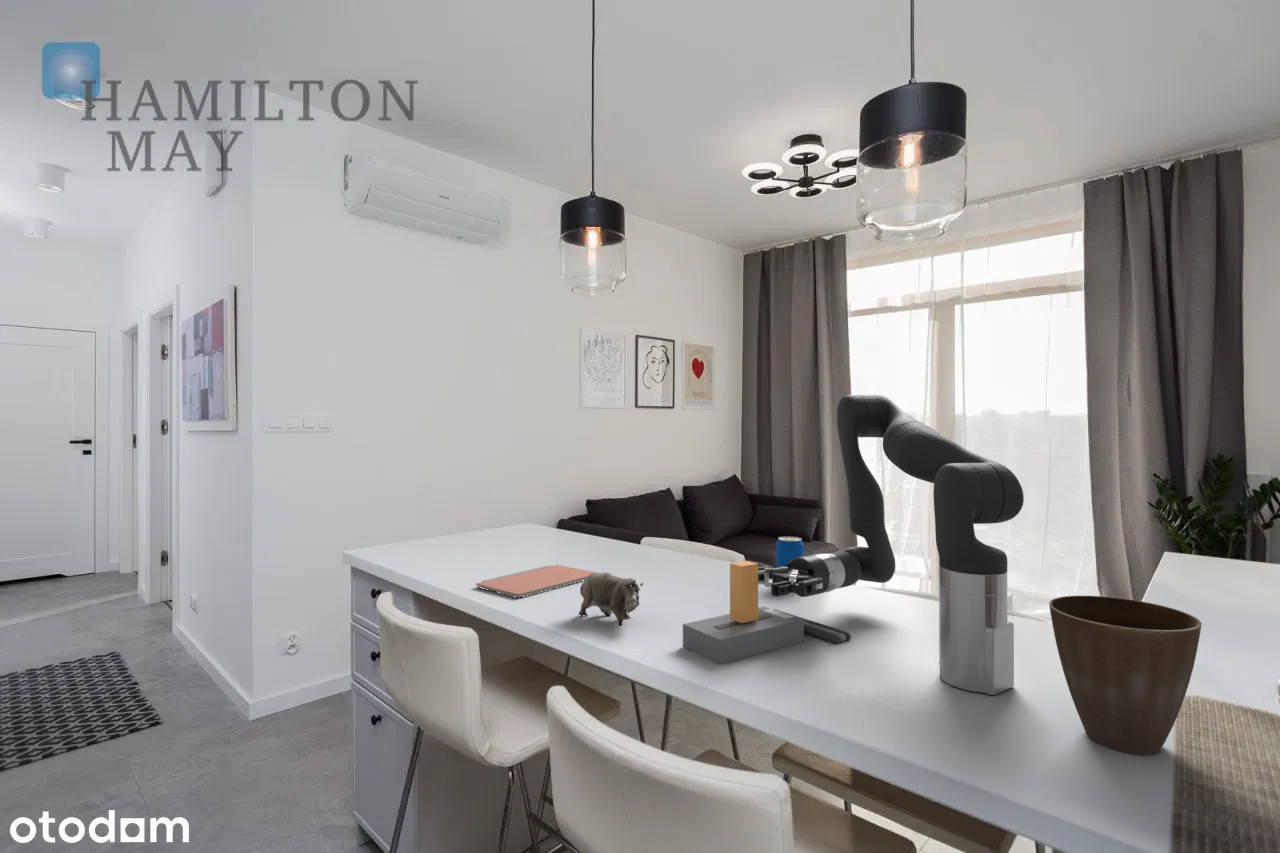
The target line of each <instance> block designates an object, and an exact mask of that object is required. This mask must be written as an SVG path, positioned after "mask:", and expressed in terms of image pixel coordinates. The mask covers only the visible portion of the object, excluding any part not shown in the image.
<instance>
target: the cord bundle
mask: <svg viewBox="0 0 1280 853" xmlns="http://www.w3.org/2000/svg"><path fill="white" fill-rule="evenodd" d="M773 609H774V610H777V611H780V612H783V613H786V614H789V615H792V616H796V617H799V618H802V619H804V634H807V635H811V636H812V637H813V636H814V637H816V638H819V639H822V640H825V641H828V642H831V643H834V644H840V642H841V643H844V642H845V641H850V640H851V639H852V635H851V633H850V632H848V631H845V630H842V629H838V628H835V627H833V626H828V625H826V624H823V623H820V622H816V621H814V620H810V619H808V618H803V617H800V616H798V615H795V614H791V613H788V612H785V611H781V610H779V609H775V608H773Z"/></svg>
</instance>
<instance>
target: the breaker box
mask: <svg viewBox="0 0 1280 853" xmlns="http://www.w3.org/2000/svg"><path fill="white" fill-rule="evenodd" d="M774 609H775V608H770V607H767V606H761V607H759V606H758V620H754V621H750V622H746V623H739V622H736V621H734V620H731V619H730V613H729V614H728V613H727V614H723V615H719V616H714V617H710V618H705V619H701V620H695V621H691V622H688V623H687V622H686V623H683V624H682V648H684V649H686V648H687V650H689V651H691V652H693V653H695V654H698V655H699V656H702V657H703V658H706V659H708V660H709V661H712V662H715V663H716V664H719V665H723V664H726V663H730V662H734V661H738V660H741V659H744V658H749V657H752V656H756V655H760V654H762V653H766V652H767V653H768V652H769V651H773V650H778V649H781V648H784V647H788V646H792V645H795V644H796V645H797V644H798V643H803V642H805V633H804V619H805V618H804V619H802V618H803V617H801V618H799V617H800V616H798V617H796V616H797V615H795V616H792V615H793V614H792V615H789V614H790V613H789V614H786V613H787V612H785V613H783V612H784V611H782V612H780V611H781V610H779V611H777V610H778V609H776V610H774Z"/></svg>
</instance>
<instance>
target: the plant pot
mask: <svg viewBox="0 0 1280 853" xmlns="http://www.w3.org/2000/svg"><path fill="white" fill-rule="evenodd" d="M1048 606H1049V611H1050V618H1051V623H1052V629H1053V634H1054V639H1055V643H1056V644H1055V645H1056V647H1057V648H1056V650H1057V653H1058V656H1059V660H1060V665H1061V668H1062V672H1063V674H1064V677H1065V681H1066V684H1067V687H1068V690H1069V693H1070V696H1071V699H1072V702H1073V704H1074V706H1075V709H1076V712H1077V715H1078V717H1079V719H1080V722H1081V724H1082V726H1083V729H1084V731H1085V734H1086V735H1087V736H1088V737H1089V738H1090V739H1091V740H1092V741H1094V742H1096V743H1097V744H1099V745H1101V746H1104V747H1105V748H1108V749H1111V750H1114V751H1117V752H1118V751H1119V752H1122V753H1125V754H1131V755H1142V756H1149V755H1155V754H1157V753H1159V752H1160V751H1161V750H1162V748H1163V747H1164V745H1165V743H1166V742H1167V739H1168V737H1169V735H1170V733H1171V731H1172V729H1173V726H1174V725H1175V723H1176V720H1177V718H1178V716H1179V713H1180V711H1181V708H1182V705H1183V703H1184V700H1185V697H1186V693H1187V690H1188V689H1189V685H1190V682H1191V679H1192V678H1191V677H1192V675H1193V670H1194V666H1195V663H1196V662H1195V661H1196V657H1197V653H1198V647H1199V641H1200V636H1201V631H1202V622H1201V620H1199V618H1198V617H1196V616H1194V615H1192V614H1190V613H1187V612H1185V611H1182V610H1180V609H1176V608H1173V607H1169V606H1165V605H1161V604H1156V603H1151V602H1147V601H1141V600H1135V599H1128V598H1120V597H1112V596H1102V595H1101V596H1100V595H1098V596H1097V595H1067V596H1058V597H1055V598H1053V599H1051V600H1050V601H1049V602H1048Z"/></svg>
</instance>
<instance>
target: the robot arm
mask: <svg viewBox="0 0 1280 853" xmlns="http://www.w3.org/2000/svg"><path fill="white" fill-rule="evenodd" d="M836 425H837V426H836V427H837V432H838V438H839V444H840V451H841V456H842V462H843V466H844V472H845V477H846V484H847V492H848V494H847V495H848V514H849V529H850V531H851V533H852V534H854V535H856V536H859V537H862V538H863V539H864V540H865V542H866V544H867V546H850V547H846V548H843V549H841V550H840V551H835V552H829V553H814V554H810V555H809V554H808V555H804V556H802V557H796V558H794V559H792V560H791V561H790V562H789V564H788V565H787V567H779V568H776V567H773V565H770V564H769V565H762V566H758V585H764V586H765V588H770V589H771V591H770V593H771V594H770V595H771V596H772V597H781V596H786V595H790V596H796V595H797V596H798V597H801V598H804V597H805V598H807V597H811V596H816V595H821V594H825V593H830V592H832V591H834V590H838V589H842V588H846V587H850V586H853V585H854V584H856V583H857V582H858V581H865V582H870V583H871V582H872V583H880V584H882V583H888V582H889V581H890V580H891V579H892V578H893V576H894V574H895V571H896V559H895V558H896V557H895V554H894V551H893V548H892V546H891V543H890V539H889V535H888V533H887V532H888V531H887V529H886V525H885V524H886V523H885V502H884V495H883V492H882V489H881V486H880V484H879V483H878V481H877V480H876V478H875V476H874V475H873V473H872V471H870V469H869V467H868V466H867V464H866V462H865V460H864V458H863V456H862V453H861V451H860V445H859V438H881V439H882V449H883V452H884V455H885V457H887V459H888V460H889V461H890V462H891V463H892V464H893V465H894V466H896V467H897V468H898V469H899V470H901V471H902V472H903V473H905V474H907V475H908V476H911V477H913V478H916V479H918V480H921V481H924V482H927V483H931V484H933V511H934V512H933V513H934V529H935V544H936V548H937V553H938V564H939V565H938V575H939V577H938V586H939V587H938V589H939V590H938V604H939V605H938V616H939V618H938V619H939V620H938V622H939V623H938V626H939V627H938V629H939V630H938V631H939V633H938V635H939V636H938V639H939V640H938V641H939V642H938V643H939V644H938V646H939V652H938V654H939V660H938V666H939V677H940V679H941V680H942V681H943V682H945V683H946V684H948V685H950V686H952V687H955V688H958V689H962V690H964V691H970V692H975V693H982V694H987V695H990V696H996V695H998V694H1000V693H1002V692H1004V691H1007V690H1009V689H1011V688H1013V687H1015V647H1014V646H1015V641H1014V639H1015V634H1014V632H1015V630H1014V629H1015V626H1014V622H1012V621H1008V557H1007V554H1006V552H1005V551H1003V550H1002V549H999V548H997V547H994V546H992V545H987V544H985V543H983V542H981V541H980V540H979V539H978V538H977V537H976V533H975V526H974V525H975V524H976V525H980V524H983V525H985V524H986V525H987V524H988V525H989V524H1000V523H1005V522H1008V521H1010V520H1012V519H1014V518H1016V516H1018V515H1019V513H1020V512H1021V511H1022V508H1023V505H1024V502H1025V501H1024V499H1025V498H1024V490H1023V487H1022V485H1021V483H1020V481H1019V479H1018V478H1017V476H1016V475H1015V473H1014V472H1013V471H1012V470H1010V469H1009V468H1008V467H1006V466H1005V465H1003V464H1002V463H999V462H997V461H994V460H992V459H989V458H986V457H984V456H981V455H979V454H976V453H974V452H972V451H970V450H968V449H966V448H965V447H963V446H961V445H960V444H958V443H956V442H954V441H953V440H951V439H949V438H947V437H946V436H945V435H942V434H941V433H940V432H938V431H936V430H935V429H933V428H932V427H931V426H928V425H926V424H925V423H923V422H922V421H920V420H917V419H915V418H914V416H913V417H912V416H911V415H909V414H908V413H906V412H905V411H903V410H902V409H901V408H900V407H899V406H898V405H897V404H896V403H895V402H894V401H892V400H891V399H890V398H888V397H886V396H884V395H882V394H881V395H880V394H845V395H844V396H842V397H841V398H840V399H839V402H838V404H837V409H836ZM770 580H771V582H769V581H770Z"/></svg>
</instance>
